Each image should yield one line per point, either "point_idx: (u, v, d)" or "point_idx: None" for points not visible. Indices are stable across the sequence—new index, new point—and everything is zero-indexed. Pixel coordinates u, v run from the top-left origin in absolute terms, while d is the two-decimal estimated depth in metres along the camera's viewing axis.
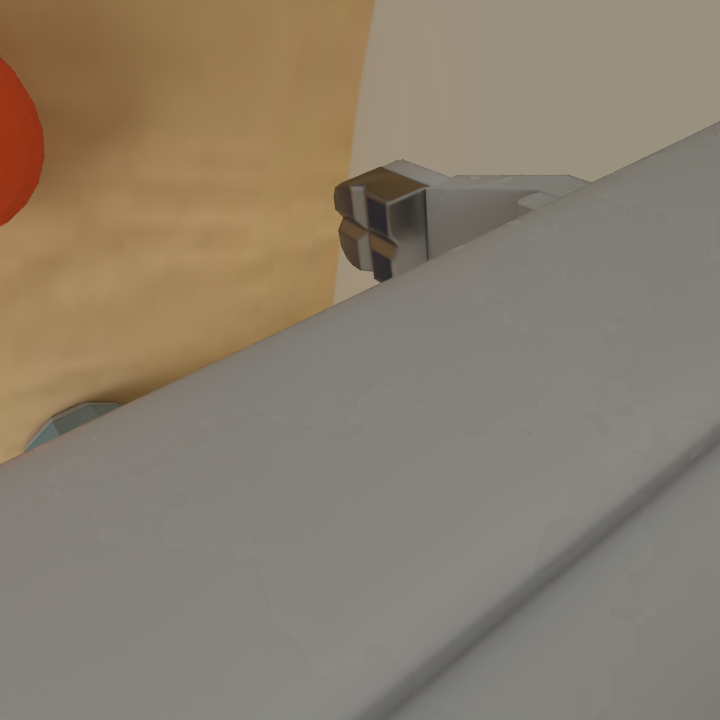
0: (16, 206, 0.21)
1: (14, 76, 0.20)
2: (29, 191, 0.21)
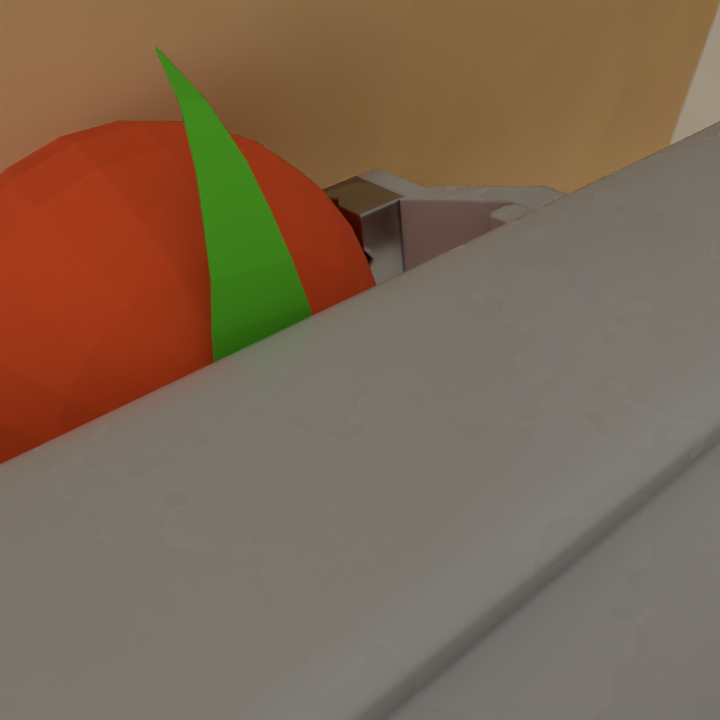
0: None
1: (350, 226, 0.10)
2: None
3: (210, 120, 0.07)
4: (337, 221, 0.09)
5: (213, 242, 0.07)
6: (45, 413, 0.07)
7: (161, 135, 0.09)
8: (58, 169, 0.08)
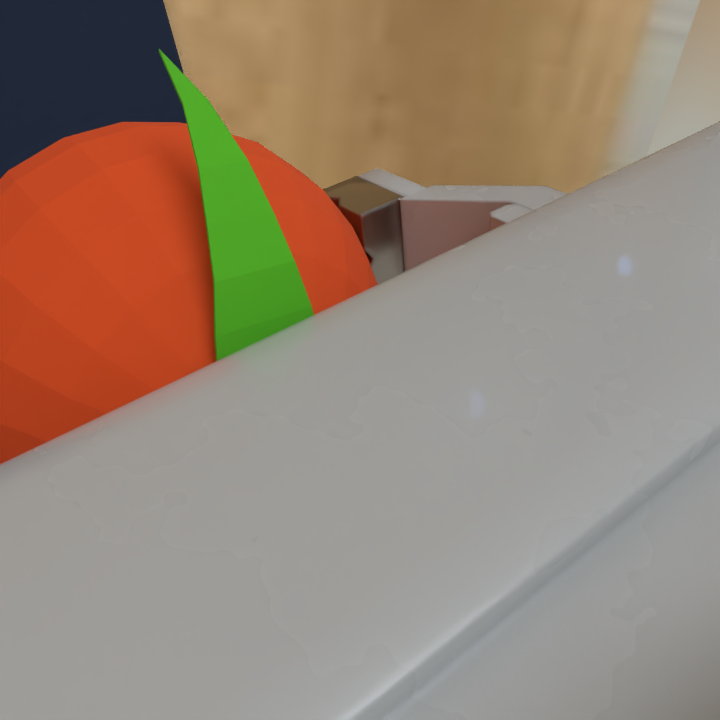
0: None
1: (352, 227, 0.10)
2: None
3: (213, 121, 0.07)
4: (339, 222, 0.09)
5: (216, 243, 0.07)
6: (48, 414, 0.07)
7: (163, 137, 0.09)
8: (60, 170, 0.08)
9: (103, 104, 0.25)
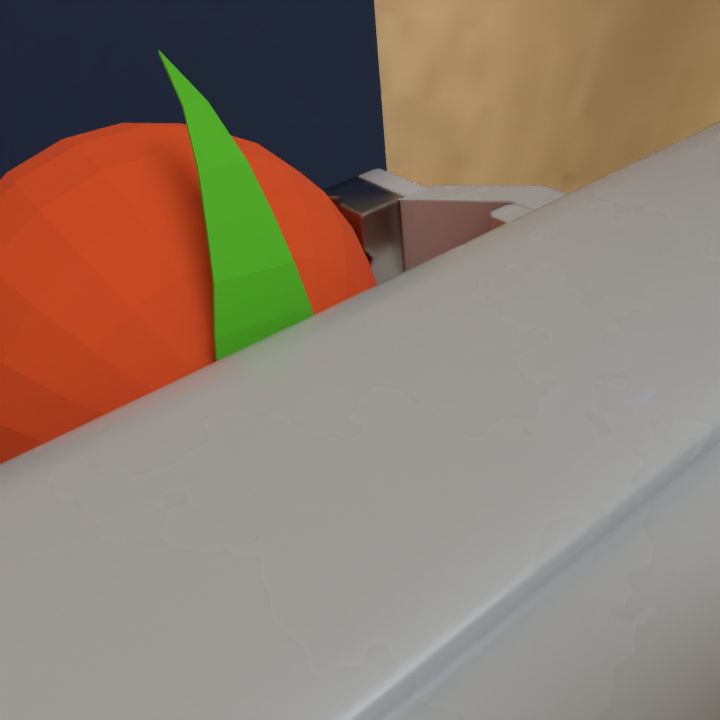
0: None
1: (351, 228, 0.10)
2: None
3: (212, 121, 0.07)
4: (339, 223, 0.09)
5: (215, 244, 0.07)
6: (48, 415, 0.07)
7: (162, 138, 0.09)
8: (60, 171, 0.08)
9: None
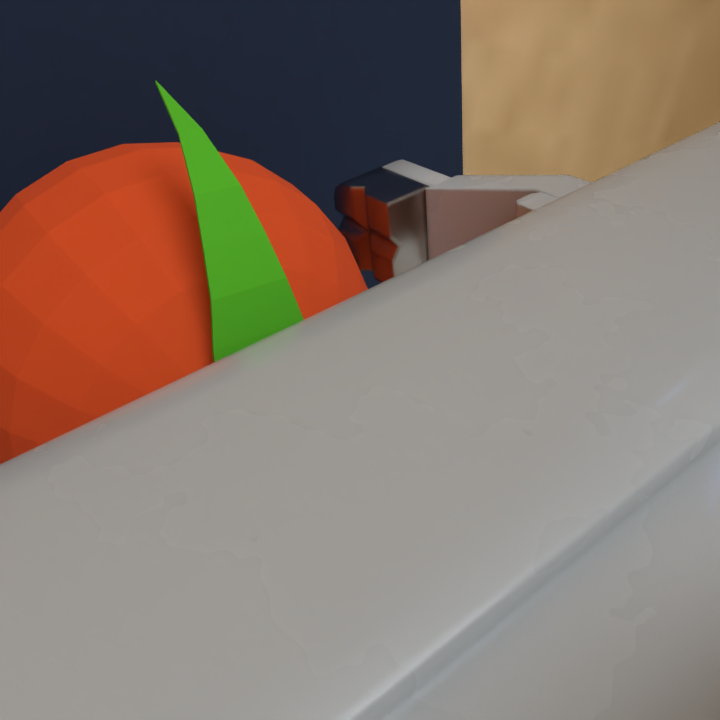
0: None
1: (344, 238, 0.11)
2: None
3: (207, 149, 0.08)
4: (330, 235, 0.10)
5: (212, 264, 0.08)
6: (59, 425, 0.08)
7: (161, 160, 0.09)
8: (65, 195, 0.09)
9: None
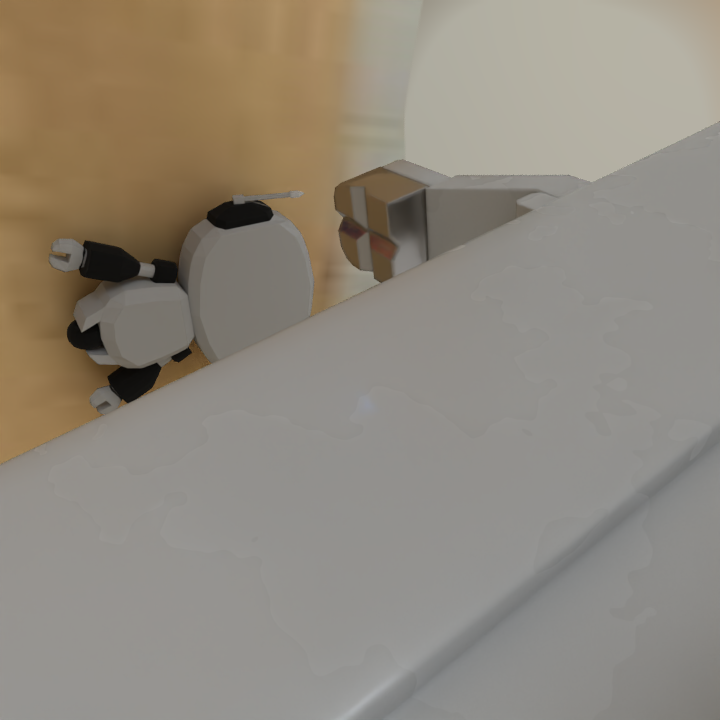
0: None
1: None
2: None
3: None
4: None
5: None
6: None
7: None
8: None
9: None
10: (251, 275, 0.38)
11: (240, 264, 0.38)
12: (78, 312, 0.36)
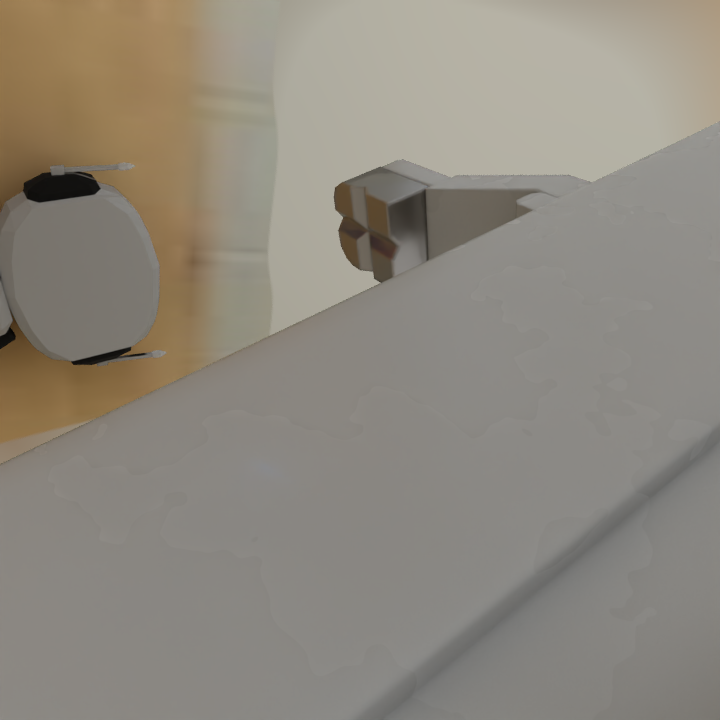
0: None
1: None
2: None
3: None
4: None
5: None
6: None
7: None
8: None
9: None
10: (76, 255, 0.35)
11: (60, 242, 0.34)
12: None
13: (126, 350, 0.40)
